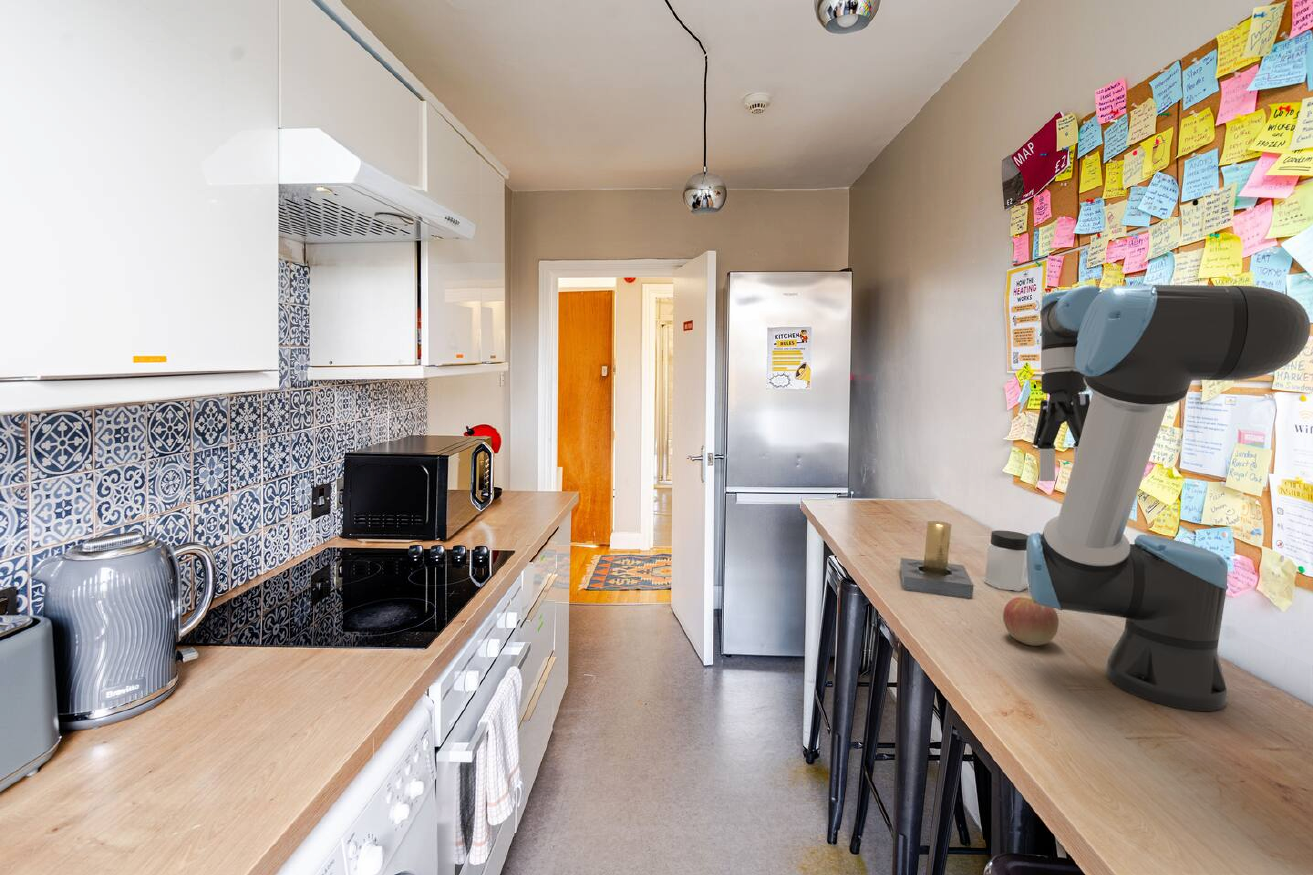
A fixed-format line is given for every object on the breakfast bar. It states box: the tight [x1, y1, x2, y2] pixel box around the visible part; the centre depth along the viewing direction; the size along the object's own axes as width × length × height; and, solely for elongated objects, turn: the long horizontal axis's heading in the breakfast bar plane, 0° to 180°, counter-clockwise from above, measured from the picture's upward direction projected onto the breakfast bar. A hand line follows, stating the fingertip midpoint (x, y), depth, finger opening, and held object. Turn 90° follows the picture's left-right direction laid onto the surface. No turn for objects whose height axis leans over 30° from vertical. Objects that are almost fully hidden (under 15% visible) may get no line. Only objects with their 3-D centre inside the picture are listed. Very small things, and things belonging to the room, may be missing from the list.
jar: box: [984, 529, 1029, 592], centre depth 156 cm, size 9×8×12 cm
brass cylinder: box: [923, 520, 952, 576], centre depth 155 cm, size 5×5×14 cm
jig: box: [899, 557, 975, 600], centre depth 155 cm, size 16×14×3 cm
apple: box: [1002, 596, 1060, 647], centre depth 123 cm, size 9×9×8 cm
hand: (1064, 482), depth 131 cm, fingers open, 13 cm apart
